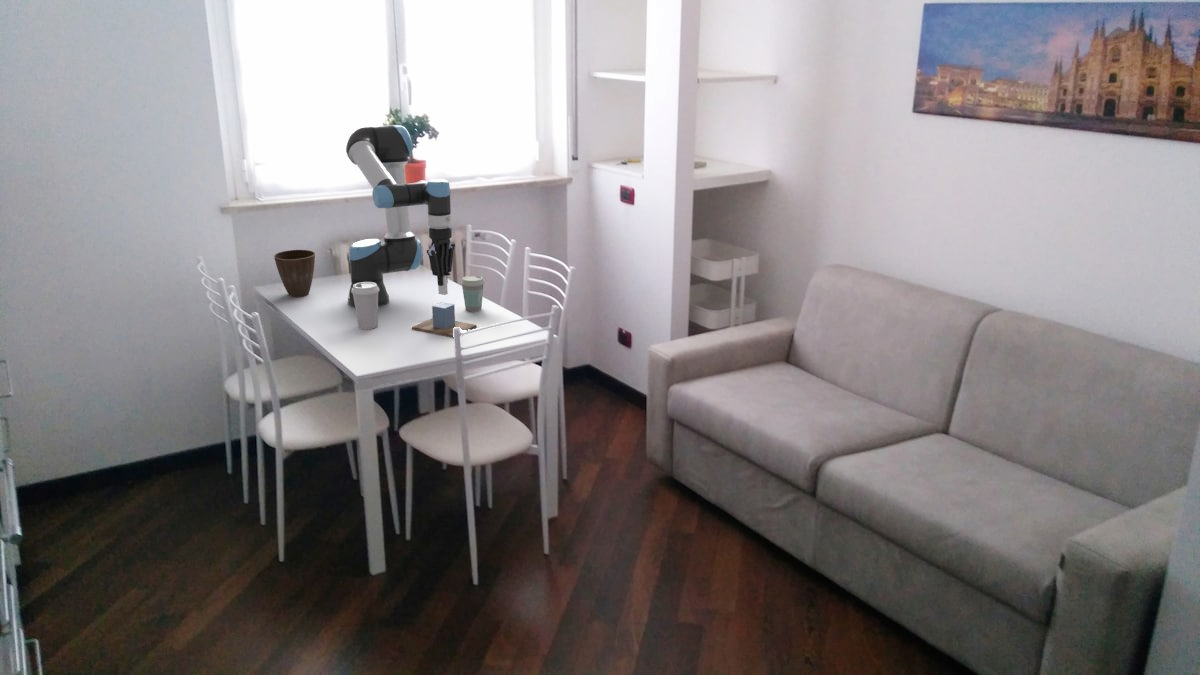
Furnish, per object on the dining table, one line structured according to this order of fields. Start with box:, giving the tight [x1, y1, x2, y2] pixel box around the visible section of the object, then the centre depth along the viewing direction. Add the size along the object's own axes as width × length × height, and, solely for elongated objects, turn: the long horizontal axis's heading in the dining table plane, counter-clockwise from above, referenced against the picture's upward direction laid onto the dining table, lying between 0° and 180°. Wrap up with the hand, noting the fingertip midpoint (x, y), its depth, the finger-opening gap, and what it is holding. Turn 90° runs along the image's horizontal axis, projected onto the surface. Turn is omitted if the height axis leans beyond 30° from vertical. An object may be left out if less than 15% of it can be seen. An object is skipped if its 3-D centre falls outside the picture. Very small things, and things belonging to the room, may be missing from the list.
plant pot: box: [273, 249, 316, 298], centre depth 352 cm, size 15×15×16 cm
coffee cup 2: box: [460, 275, 485, 312], centre depth 339 cm, size 8×9×12 cm
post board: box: [411, 317, 478, 338], centre depth 319 cm, size 18×13×7 cm
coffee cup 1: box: [351, 282, 380, 330], centre depth 318 cm, size 10×10×15 cm
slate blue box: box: [431, 301, 456, 329], centre depth 318 cm, size 5×5×8 cm
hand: (443, 293), depth 316 cm, fingers closed
